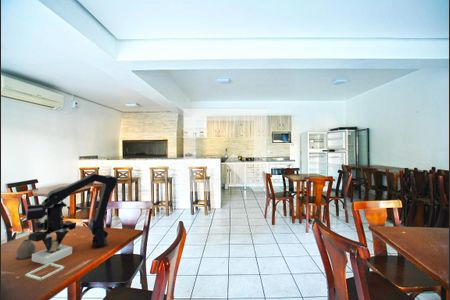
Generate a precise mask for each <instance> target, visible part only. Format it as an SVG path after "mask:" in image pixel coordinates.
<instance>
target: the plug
mask: <svg viewBox="0 0 450 300" xmlns="http://www.w3.org/2000/svg"><path fill="white" fill-rule="evenodd" d="M56 251H58V239H56V238H52V242H51V247H50V250H49V251H48V253H51V254H52V253H54V252H56Z"/></svg>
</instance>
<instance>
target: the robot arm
mask: <svg viewBox="0 0 450 300" xmlns="http://www.w3.org/2000/svg"><path fill="white" fill-rule="evenodd" d="M94 182H96V183H99V184H100V183H101V188H102V189H101V190H102V192H101V195H100V199H99V202H98V204H97V209H96V212H95V214H94V215H95V216H94V217H93V218H90V219H89V224H88V225H87V227H88V230H89V232H90V233H91V234H92V235H93V237H92V243H91V249H96V250H97V249H99V248H104V247H105V246H109V243H107V239H108V238H107V237H108V235H109V233H108V231H107V230H106V229H105V215H106V211H107V207H108V205H109V200H110V198H111V194H112V193H113V191H114V189H115V188H116V185H117V183H118V180H117V178H116V176H115V177H114V176H113V175H111V174H110V175H109V174H108V175H101V174H97V173H94V172H92V173H90V174H89V175H87V176H85V177H82V178H81V179H79V180H77V181H75V182H73V183H70V184H69V185H66V186H63V187H59V188H56V189H51V190H50V191H49V192H48V193H47V195H46V198H45V199H44V200H43V201H42V202H41V203H40V204H28V205H27V206H26V207H27V208H26V212H25V213H26V214H25V215H26V216H25V217H26V218H25V220H26V222H29V221H35V220H39V219H40V220H41V219H43V218H44V217H46V218H45V219H44V221H43V222H41V221H36V222H34V223H33V229H34V230H37V231H35V232H32V233H29V234H28V236H27V239H28V240H31V241H32V242H41V241H42V243H43V244H44V246H45V249H47V250H48V251H49V250H50V247H51V242H52V239H53V237H52V236H51V235H52V234H55V235H56V236H55V237H56V238H55V239H58V247H59V245H60V244H62V241H63V240H64V238H65V236H67V234H68V233H69V230H70V231H72V230H75V229H76V227H77V226H76V223H75V222H73V221H72V222H71V221H67V222H63V223H62V221H64V217H62V211H63V207H64V208H65V207H68V206H67V204H66V203H65V202H64V200H65V199H68V198H67V197H69V196H70V195H71V194H73V193H75V192H76V191H77V192H78V191H79V190H81V189H83V188H85V187H87V186H89V185H90V184H93V183H94ZM41 230H43V231H41Z"/></svg>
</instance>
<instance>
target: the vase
mask: <svg viewBox="0 0 450 300" xmlns="http://www.w3.org/2000/svg"><path fill="white" fill-rule="evenodd" d="M33 253H36V244H35V243H34V241H31V240H28V238H27V239H24V240H23V241H22V243H20V245H19V246H18V247H17V249H16V257H17V258H18V259H19V260H26V259H30V258H32V254H33Z"/></svg>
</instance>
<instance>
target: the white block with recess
mask: <svg viewBox="0 0 450 300" xmlns="http://www.w3.org/2000/svg"><path fill="white" fill-rule="evenodd" d="M72 254H73V247H72V246H69V245H64V244H62V243H60V245H59V247H58V251H56V252H54V253H52V254H51V253H48V250H47V249H46V248H44V249H42V250H39V251H37V252H36V251H35V253H33V254H32V257H31V262H34V263H38V264H42V265H46V264H48V263H53V264H54V263H55V262H58V261H59V260H61V259H63V258H65V257H67V256H70V255H72Z"/></svg>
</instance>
